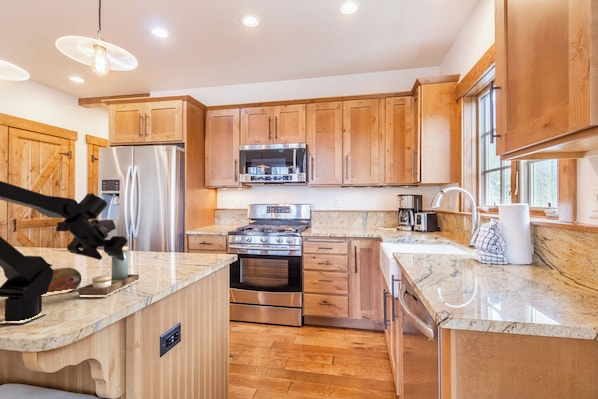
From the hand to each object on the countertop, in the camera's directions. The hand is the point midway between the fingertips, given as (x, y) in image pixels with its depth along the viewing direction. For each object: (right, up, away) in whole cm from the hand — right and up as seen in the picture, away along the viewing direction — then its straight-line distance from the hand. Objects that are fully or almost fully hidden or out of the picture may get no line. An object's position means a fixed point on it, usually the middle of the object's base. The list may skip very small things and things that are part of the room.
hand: (112, 259), depth 98 cm
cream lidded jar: (+1, -10, -6) cm, 12 cm away
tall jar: (+1, -10, +3) cm, 11 cm away
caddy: (+1, -10, -1) cm, 10 cm away
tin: (-16, -11, -6) cm, 20 cm away
